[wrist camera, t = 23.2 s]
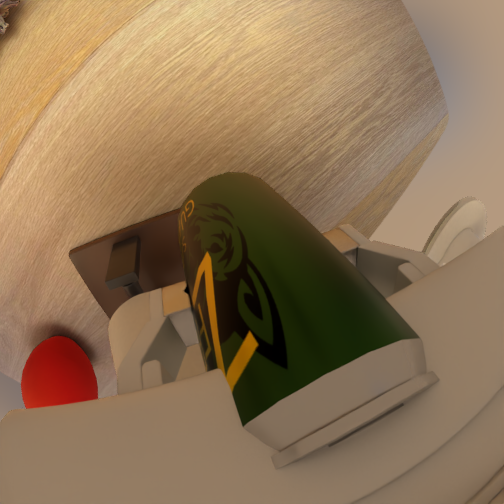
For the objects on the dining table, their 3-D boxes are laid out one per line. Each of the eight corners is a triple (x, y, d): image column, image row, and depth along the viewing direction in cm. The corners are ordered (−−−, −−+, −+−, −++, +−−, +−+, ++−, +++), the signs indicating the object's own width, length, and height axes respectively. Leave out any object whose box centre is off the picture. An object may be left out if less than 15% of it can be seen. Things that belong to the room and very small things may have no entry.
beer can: (276, 161, 14) (486, 332, 4) (276, 251, 17) (400, 432, 7) (168, 177, 12) (225, 467, 3) (185, 270, 15) (248, 497, 6)
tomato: (102, 377, 37) (104, 454, 26) (41, 367, 33) (32, 442, 21) (97, 325, 32) (90, 420, 21) (24, 314, 27) (-1, 400, 16)
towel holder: (198, 319, 31) (130, 353, 28) (168, 255, 25) (87, 296, 23) (318, 484, 14) (214, 536, 12) (322, 470, 9) (155, 544, 6)
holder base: (123, 332, 34) (123, 377, 28) (70, 250, 26) (52, 293, 20) (218, 301, 36) (233, 344, 30) (184, 206, 28) (193, 241, 22)
